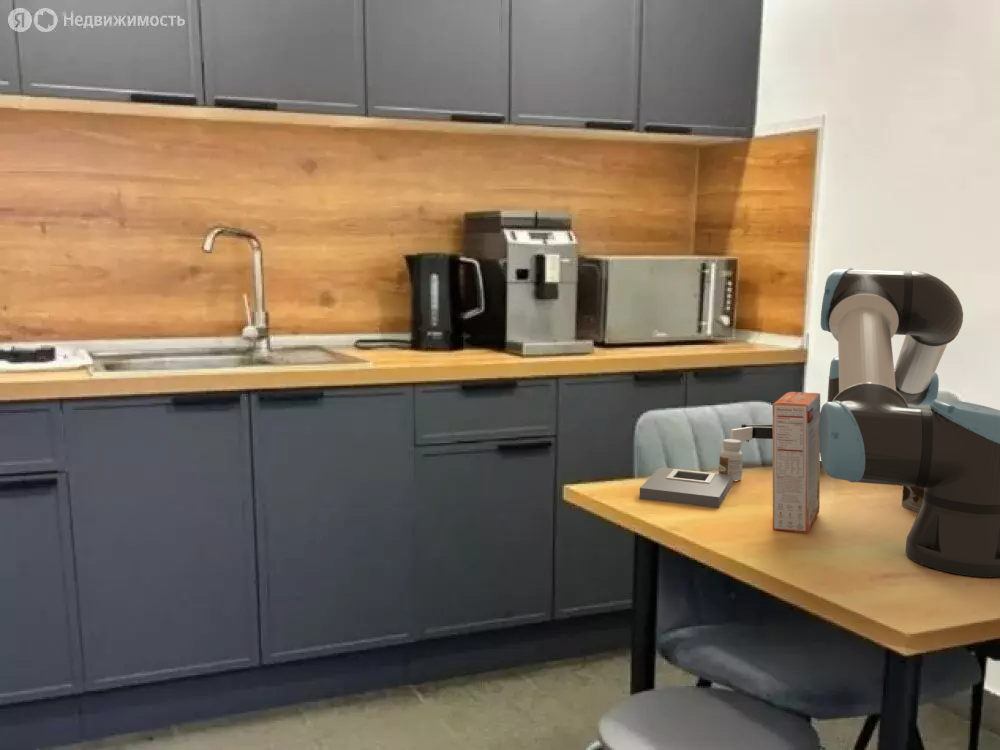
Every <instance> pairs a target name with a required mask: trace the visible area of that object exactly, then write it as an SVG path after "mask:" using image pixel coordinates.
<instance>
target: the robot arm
mask: <svg viewBox="0 0 1000 750" xmlns="http://www.w3.org/2000/svg"><path fill="white" fill-rule="evenodd" d="M963 321H964V311H963V306H962V304H961V301H960V299H959V297H958V296H957V294H956V293H955V291H954V290H953V289H952V287H950V286H949V285H948V284H947V283H946V282H944V281H943V280H941V279H940V278H939V277H937V276H934V275H933V274H930V273H927V272H922V271H917V270H916V271H914V270H911V271H907V270H877V269H873V270H872V269H854V268H851V267H850V268H844V269H842V268H841V269H839V268H838V269H834V270H832V271H831V272H829V273H828V276H827V277H826V281H825V286H824V293H823V297H822V302H821V310H820V328H821V329H822V331H824V332H829V333H831V335H832V337H833V339H835V340H836V341H837V345H838V346H837V347H838V351H837V353H838V356H836V357H833V358H832V359H831V361H830V367H829V376H828V386H827V389H828V390H827V402H825V403H824V404H823V405H822V407H820V421H819V440H820V463H821V465H822V469H823V471H824V473H825V474H826V475H827V476H828V477H830V478H832V479H836V480H840V481H841V480H842V481H847V482H850V483H861V484H862V483H863V484H875V485H887V486H913V487H923V488H924V496H923V504H922V507H921V509H920V511H919V512H917V516H916V518H915V520H914V522H913V523H912V527H911V528H910V530H909V533H908V535H907V537H906V544H905V554H906V556H907V557H909V558H910V559H911V560H913V561H914V562H916V563H917V564H920V565H923V566H926V567H928V568H931V569H934V570H938V571H942V572H946V573H951V574H956V575H963V576H969V577H979V578H1000V409H996V408H993V407H989V406H986V405H981V404H977V403H971V402H969V401H968V402H967V401H962V400H955V399H948V398H946V399H945V398H938V395H939V389H940V388H939V384H940V383H939V375H938V373H936V370H937V368H938V367H939V363H940V362H941V359H942V357H943V355H944V352H945V350H946V348H947V346H948V344H950V343H951V342H953V341H954V340H955V339H956V338H957V336H958V335H959V333H960V332H961V331H960V330H961V329H962V326H963ZM895 335H899V336H900V335H901V336H904V340H903V343H902V345H901V350H900V351H899V355H898V357H897V360H896V364H895V365H894V355H893V345H892V344H893V343H892V338H893V337H894V336H895ZM894 366H895V367H894ZM909 405H911V406H912V405H913V406H917V407H911V406H909ZM918 406H929V408H924V407H922V408H921V407H918ZM740 426H741V427H739V428H732V429H730V434H729V435H730V436H729V437H730V438H729V439H735V440H740V441H741V443H742V442H750V441H751V440H752V441H753V439H761V440H762V439H763V440H764V439H765V440H773V423H752V424H751V423H742V424H741V425H740Z"/></svg>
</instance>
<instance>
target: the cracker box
mask: <svg viewBox="0 0 1000 750" xmlns="http://www.w3.org/2000/svg"><path fill="white" fill-rule="evenodd" d="M820 413H821V393H820V392H803V391H802V392H801V391H789V392H786V393H785V394H783V395H782V396H781V397H780V398H779V399H778V400H776V401H774V403H772V424H773V439H772V530H774V531H780V532H782V531H783V532H795V533H804V534H805V533H806V534H807V533H809V532H810V529H811V527H812V525H813V524H814V522H815V520H816V518H817V516H818V515H819V513H820V503H821V502H820V499H821V497H820V493H821V492H820V490H821V489H820V486H821V485H820V484H821V483H820V482H821V481H820V479H821V478H820V476H821V473H820V472H821V471H820V470H821V468H820V467H821V464H820V463H821V456H820V440H819V421H820Z"/></svg>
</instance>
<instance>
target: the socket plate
mask: <svg viewBox="0 0 1000 750" xmlns="http://www.w3.org/2000/svg"><path fill="white" fill-rule="evenodd" d="M731 485H732V486H733V481H732V475H727V474H719V472H718V473H716V472H709V471H708V472H707V471H697V470H691V469H690V470H688V469H679V468H671V467H670V468H669V467H662V466H661V467H660V466H659V467H658V469H656V470H655V471H654V473H653V474H651V476H649V478H648V479H646V481H645V482H644V483H643V484H642V485H641V486H640V487H639V495H638V496H639V500H648V501H653V502H654V501H656V502H664V503H672V504H681V505H687V506H697V507H704V508H705V507H706V508H712V509H713V508H714V509H719V508H720V507H721V505H722V503H723V502H724V500H725V498H726V496H727V494H728V492H730V489H731V488H730V487H732V486H731Z"/></svg>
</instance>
